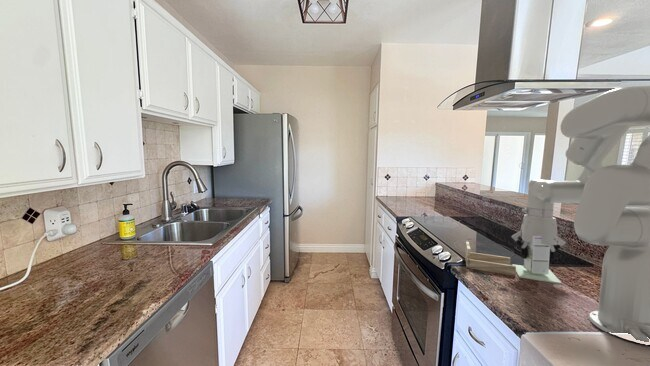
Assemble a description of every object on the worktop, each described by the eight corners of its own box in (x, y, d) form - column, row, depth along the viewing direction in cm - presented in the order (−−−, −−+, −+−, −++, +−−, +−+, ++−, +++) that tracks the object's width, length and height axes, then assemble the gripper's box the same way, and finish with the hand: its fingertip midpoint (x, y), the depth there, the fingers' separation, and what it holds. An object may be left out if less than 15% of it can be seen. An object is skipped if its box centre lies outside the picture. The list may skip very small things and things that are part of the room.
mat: (561, 284, 89) (561, 282, 88) (519, 277, 94) (519, 276, 94) (549, 270, 99) (549, 269, 99) (512, 265, 105) (512, 264, 104)
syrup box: (549, 274, 93) (552, 236, 92) (530, 273, 94) (533, 235, 93) (539, 268, 98) (542, 231, 97) (522, 267, 100) (524, 231, 98)
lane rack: (515, 275, 95) (516, 255, 94) (466, 267, 102) (467, 248, 101) (509, 265, 104) (510, 246, 103) (465, 259, 111) (466, 241, 110)
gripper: (513, 212, 95) (510, 258, 96) (574, 216, 87) (570, 267, 89) (509, 209, 101) (506, 252, 103) (565, 212, 94) (562, 259, 95)
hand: (536, 258), depth 96 cm, fingers closed on syrup box, 6 cm apart
